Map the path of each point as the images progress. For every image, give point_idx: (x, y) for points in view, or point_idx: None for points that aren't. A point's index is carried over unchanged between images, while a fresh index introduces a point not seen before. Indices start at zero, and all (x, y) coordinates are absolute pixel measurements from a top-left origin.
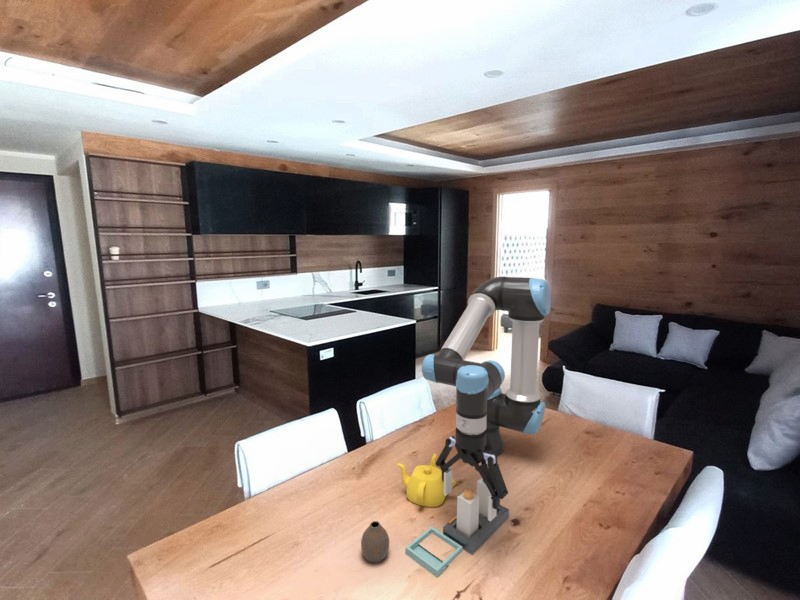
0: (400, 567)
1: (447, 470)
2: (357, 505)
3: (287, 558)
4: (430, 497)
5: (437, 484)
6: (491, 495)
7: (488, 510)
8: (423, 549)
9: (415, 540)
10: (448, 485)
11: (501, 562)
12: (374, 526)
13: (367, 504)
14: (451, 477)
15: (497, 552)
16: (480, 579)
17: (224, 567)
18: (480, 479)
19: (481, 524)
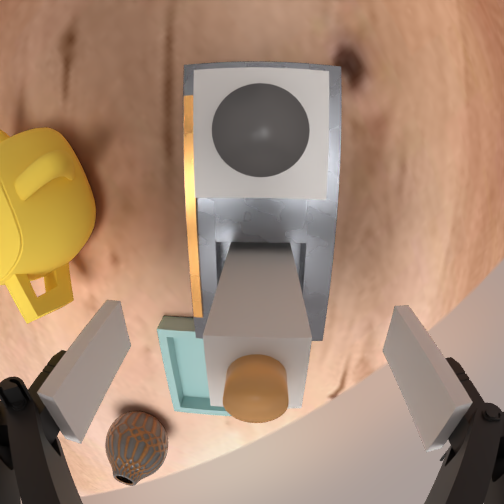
0: (199, 419)
1: (52, 415)
2: (10, 341)
3: (85, 458)
4: (64, 258)
5: (36, 239)
6: (440, 440)
7: (400, 385)
8: (197, 373)
9: (171, 387)
10: (106, 359)
11: (389, 269)
12: (107, 446)
13: (12, 328)
14: (82, 362)
15: (367, 244)
16: (362, 348)
17: (73, 476)
18: (198, 149)
19: (297, 235)
